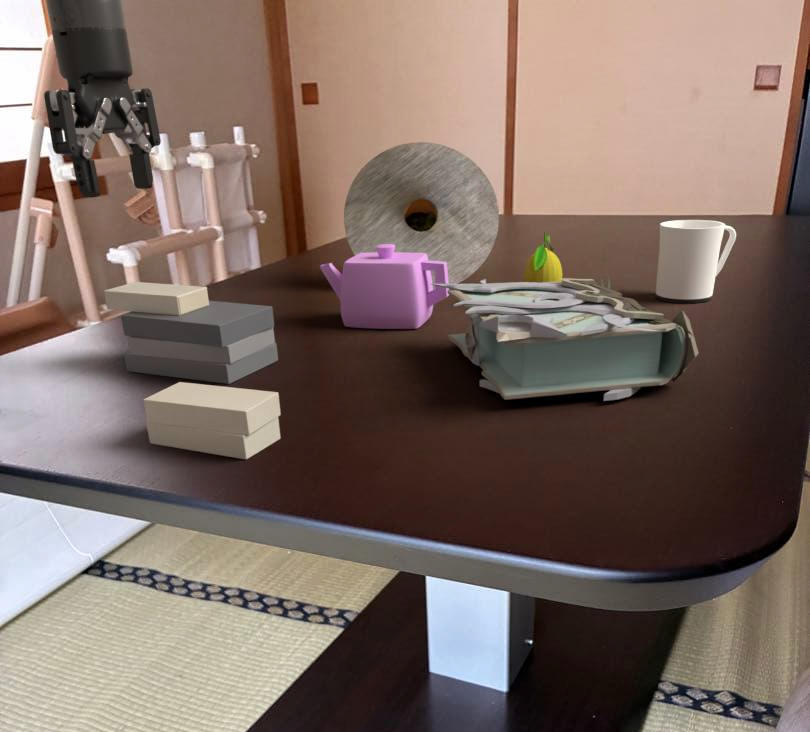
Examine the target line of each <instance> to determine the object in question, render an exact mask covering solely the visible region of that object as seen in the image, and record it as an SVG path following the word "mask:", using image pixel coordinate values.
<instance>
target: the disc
mask: <svg viewBox="0 0 810 732" xmlns="http://www.w3.org/2000/svg"><path fill="white" fill-rule="evenodd" d="M344 202H345V203H344V206H343V207H344V209H343V226H344V232H345V237H346V240H347V242H348V246H349V247H350V249H351V251H352V253H353V255H354V256H356V255H358V254H360V253H368V252H377V250H376V246H377V245H381V244H393V245H395V250H394V252H407V253H426V254H427V257H428V260H429V261H443V262H447V270H448V281H449V284H461V282H463V281H465V280H466V279H468V278H469V277H470V276H472V275H473V274H474V273H475V272H477V270H478V269H479V268H480V267H481V266H482V265H483V264H484V263H485V262H486V260H487V258H488V257H489V255H490V253H491V251H492V249H493V247H494V246H495V242H496V239H497V236H498V232H499V225H500V222H499V221H500V216H499V215H500V213H499V204H498V199H497V196H496V192H495V190H494V187H493V185H492V183H491V181H490V180H489V178H488V176H487V175H486V174H485V172H484V171H483V170H482V169H481V168H480V166H479V165H478V164H477V163H476V162H474V160H472V159H471V158H470V157H468V156H467V155H465V154H463V153H462V152H460V151H458V150H456V149H454V148H451V147H449V146H446V145H444V144H438V143H434V142H427V141H426V142H425V141H419V142H417V141H415V142H408V143H402V144H399V145H396V146H393V147H390V148H388V149H386V150H384V151H382V152H380V153H379V154H377V155H376V156H373V158H371V159H370V160H369V161H368V162H367V163H365V164H364V166H363V167H361V169H360V170H359V172H358V173H357V175H356V176H355V177H354V179H353V181H352V182H351V184H350V187H349V188H348V191H347V194H346V198H345V201H344ZM430 271H431V277H432V284H435V270H430ZM434 289H435V285H433V290H434Z"/></svg>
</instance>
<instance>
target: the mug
mask: <svg viewBox="0 0 810 732" xmlns="http://www.w3.org/2000/svg"><path fill="white" fill-rule="evenodd" d="M725 231H728V233H729V238H728V240H727V242H726V243H725V246H724V248H723V251H722V253H721V255H720V251H721V246H722V241H723V237H724V232H725ZM736 239H737V232H736V230H735V229H734V227H732V226H730V225H726V223H724V222H721V221H717V220H707V219H706V220H705V219H677V220H675V219H674V220H667V221H663V222H660V223H659V249H658V261H657V274H656V285H655V286H656V287H655V297H656V299H658V300H659V301H662V302H667V303H672V304H673V303H674V304H701V303H706V302H709V301H711V300H712V298H713V294H714V288H715V282H716V277H718V275H719V274H720V273H721V271H722V269H723V268H724V265H725V264H726V261H727V259H728V257H729V255H730V253H731V251H732V249H733V248H732V247H733V246H734V243H735V242H736ZM719 257H720V258H719Z"/></svg>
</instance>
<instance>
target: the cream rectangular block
mask: <svg viewBox="0 0 810 732" xmlns="http://www.w3.org/2000/svg"><path fill="white" fill-rule="evenodd" d="M103 295H104V300H105V306H106V309H107V310H111V311H121V312H122V311H123V312H143V313H154V314H166V315H177V316H180V315H183V314H186V313H189V312H192V311H195V310H198V309H201V308H204V307H206V306H209V301H210V299H209V293H208V287H207V286H200V285H187V284H186V285H184V284H171V283H157V282H145V281H144V282H141V281H134V282H130V283H125V284H123V285H119V286H116V287H112V288H108V289H105V290H103Z"/></svg>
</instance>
